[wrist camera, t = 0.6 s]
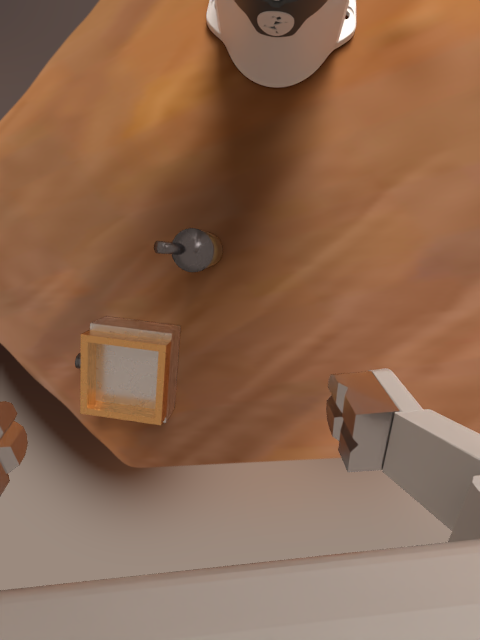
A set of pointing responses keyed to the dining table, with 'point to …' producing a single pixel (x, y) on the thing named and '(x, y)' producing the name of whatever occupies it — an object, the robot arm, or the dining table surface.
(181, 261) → the glass jar with lid
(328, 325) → the dining table surface
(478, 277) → the dining table surface
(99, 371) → the open wooden box
